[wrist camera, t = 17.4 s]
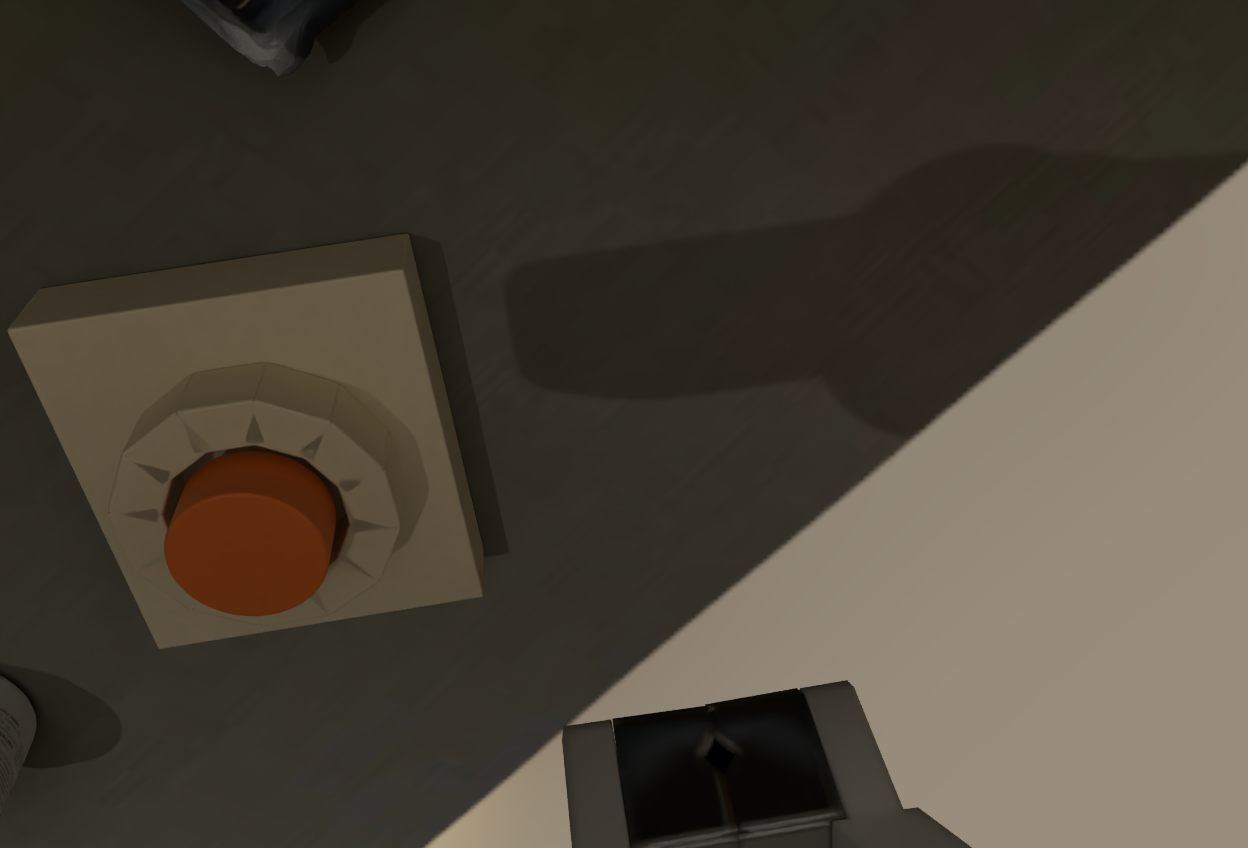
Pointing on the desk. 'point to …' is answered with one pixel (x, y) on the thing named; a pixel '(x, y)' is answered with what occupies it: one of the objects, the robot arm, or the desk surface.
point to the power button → (251, 534)
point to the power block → (263, 419)
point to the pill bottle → (13, 735)
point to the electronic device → (270, 27)
